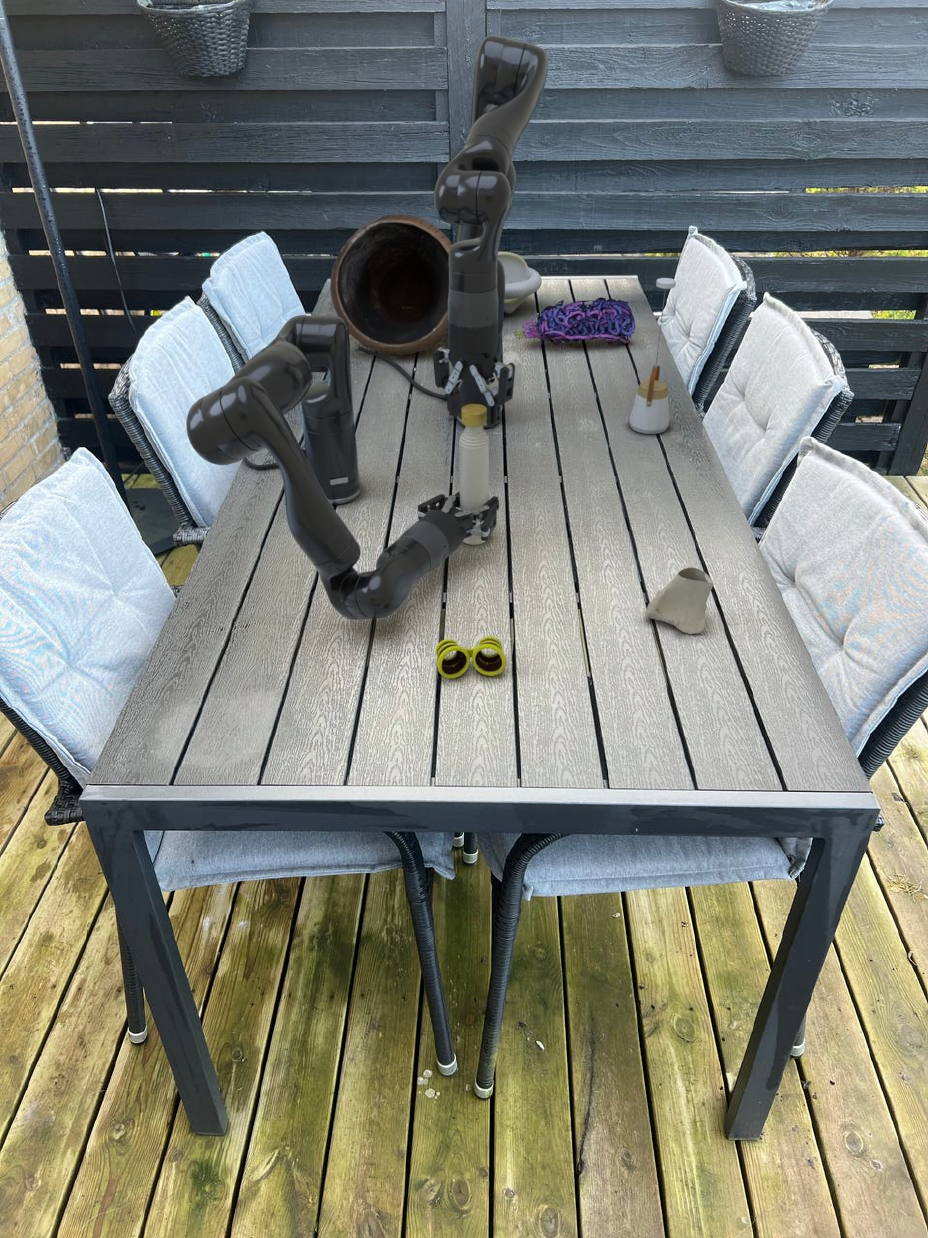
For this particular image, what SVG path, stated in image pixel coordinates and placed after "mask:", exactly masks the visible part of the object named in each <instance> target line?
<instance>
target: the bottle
mask: <svg viewBox="0 0 928 1238" xmlns="http://www.w3.org/2000/svg"><path fill="white" fill-rule="evenodd" d="M458 463H459V464H458V467H459V468H458V470H459V472H458V473H459V476H458V477H459V491H460V508H459V510H462V511H465V510H468V509H470V508H473V507H475V508H476V509H477V508H479V507H481V506H484V504H485V503H486V502H487V501H489V500H490V437H489V436H488V434H487V432H486V430H485V428H483V426H480V427H468V426H465V428H464V429H463V431H462V433H461V434H460V437H459V440H458ZM471 517H472V515H471ZM480 517H482V514H480ZM486 542H487V541H482V540H481V536H478V535H472V536H470V537H468V538H465V539H464V540H463V541H462V543H465V544H467V545H472V546H475V545H481V544H482V545H483V544H484V543H486Z"/></svg>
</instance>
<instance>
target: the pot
mask: <svg viewBox="0 0 928 1238" xmlns="http://www.w3.org/2000/svg"><path fill="white" fill-rule="evenodd" d="M453 244H454V243H452V242H451V240H450V239H449V237H448V236H447V235H446V234H445V233H443V231H442V230H441V229H440V228H439V227H437V226H436V225H434V224H433V223H431V222H429V221H427V220H425V219H423V218H420V217H419V216H414V215H411V214H405V213H402V214H401V213H397V214H393V213H392V214H388V215H382V216H379V217H378V218H375V219H373V220H372V221H369V222H367V223H366V224H365V225H364V224H363V226H361V227H360V228H358V230H356V231H355V232H354V233H353V234H352V235H351V236H349V238H348V239H347V240H346V242H345V244H344V245H343V246H342V247H341V249H340V252H339V253H338V255H337V257H336V258H335V260H334V263H333V265H332V267H331V274H330V282H329V283H330V284H329V286H330V287H329V290H330V297H331V301H332V304H333V308H334V310H335V313H336V315H337V317H341V318H343V319H344V320H345V322H346V324H347V326H348V330H349V336H351V337H352V338H353V339H355V340H356V341H357V342H358V343H360V344H361V345H362V346H363V347H364V348H365V347H366V349H369V350H371V351H374V352H376V353H379V354H382V355H390V356H405V355H411V354H417V353H419V352H423V351H426V350H428V349H430V348H432V347H433V346H434V345H436V344H437V343H439V342H440V341H441V340H442V339H443V338H444V337H445V336H446V335H447V334H448V291H447V281H448V272H449V250H450V248H451V246H452V245H453Z"/></svg>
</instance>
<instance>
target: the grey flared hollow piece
mask: <svg viewBox="0 0 928 1238" xmlns="http://www.w3.org/2000/svg"><path fill="white" fill-rule="evenodd" d="M714 584H715V583H714V581H713V579H712V578H711V576H709V575H708V573H706V572H705V571H704V570H702V569H700V568H696V567H693V566H692V567H686V568H683V569H681V570H680V571H678V573H677V574H676V575H675V576H674V577H673V578H672V579H671V580H670V582H668V584H667V585H666V586H665V587H664V588H662V589H661V590H660V589H659V590H658V591H657V592H656V595H655V596H654V597H653V598H652V600H651V601H650V602H649V603H648V604H647V608H646V609H645V610H646V611H645V616H646V617H647V618H649V619H650V620H656V621H662V622H663V623H667V624H668V625H672V626H674V627H675V628H677V629H678V630H679V631H680V632H683V633H685V634H688V635H692V634H693V635H694V634H695V635H696V634H701V633H702V632H703V631H704V629H705V627H706V611H707V608H708V607H707V602H708V599H709V597H710V594H711V592H712V589H713V587H714Z"/></svg>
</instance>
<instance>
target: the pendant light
mask: <svg viewBox="0 0 928 1238" xmlns="http://www.w3.org/2000/svg"><path fill="white" fill-rule="evenodd" d="M676 283H677V280H675V279H673V278H671V277H660V278H657V279H656V281H655V286H656V287H657V288H660V289H663V290H664V293H663V301H662V309H661V318H660V326H659V333H658V334H659V335H658V342H657V350H656V358H655V364H654V365H653V367H652V370H651V372H650V377H649V379H646V380H643V381H641V382H639V383H640V384H639V386H638V389H637V391H636V395H635V399H634V402H633V406H632V410H631V412H630V417H629V419H628V421H629V426H630V428H631V429H632V430H633V431H635V432H637V433H641V434H644V435H657V434H662V433H664V432H666V430H668V428H669V425H670V413H669V412H670V410H669V409H670V408H669V389H668V385H667V383H665V382H664V381H661V380H660V371H661V368H660V365H658V364H657V363H658V355H659V348H660V339H661V331H662V323H663V313H664V307H665V300H666V299H665V298H666V290H668V289H669V290H671V289H674V288H675V287H676V285H677V284H676Z"/></svg>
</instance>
